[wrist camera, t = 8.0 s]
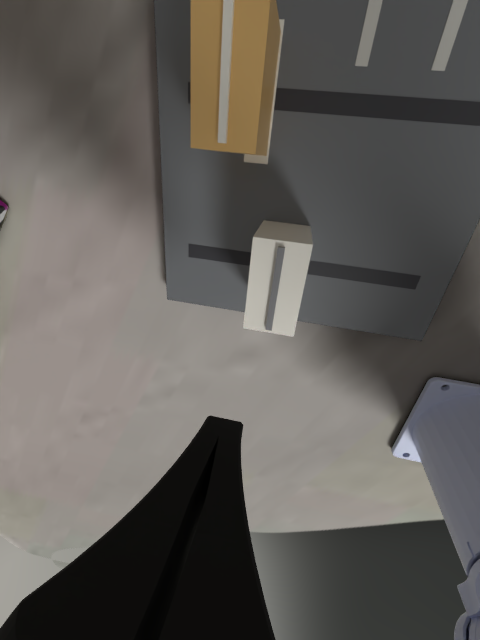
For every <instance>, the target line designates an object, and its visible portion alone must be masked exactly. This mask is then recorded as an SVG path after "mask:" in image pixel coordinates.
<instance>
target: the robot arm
mask: <svg viewBox="0 0 480 640" xmlns="http://www.w3.org/2000/svg"><path fill="white" fill-rule="evenodd" d="M443 385H446V386H444V387H442V386H443ZM242 430H243V424H242V423H241V422H238V421H233V420H228V419H224V418H219V417H214V416H209V417H207V419H206V420H205V422H204V424H203V425H202V427H201V428H200V430H199V431H198V433H197V434H196V436H195V437H194V439H193V440H192V441H191V443H190V444H189V445H188V447H187V448H186V449H185V451H184V452H183V453H182V454H181V456H180V457H179V458H178V460H177V461H176V462H175V463H174V464H173V466H172V467H171V468H170V469H169V470H168V471H167V473H166V474H165V475H164V476H163V477H162V478H161V480H160V481H159V482H158V483H157V484H156V485H155V486H154V487H153V488H152V489H151V491H150V492H149V493H148V494H147V495H146V496H145V497H144V498H143V499H142V500H141V501H140V502H139V503H138V504H137V505H136V506H135V507H134V508H133V509H132V510H131V511H130V512H129V513H128V514H127V515H125V516H124V517H123V518H122V519H121V520H120V521H119V522H118V523H117V524H116V525H115V526H114V527H113V528H111V529H110V530H109V531H108V532H107V533H106V534H105V535H104V536H102V537H101V538H100V539H99V540H98V541H97V542H95V543H94V544H93V545H92V546H91V547H89V548H88V549H87V550H86V551H85V552H83V553H82V554H81V555H80V556H79V557H78V558H76V559H75V560H74V561H73V562H71V563H70V564H69V565H68V566H66V567H65V568H64V569H62V570H61V571H60V572H59V573H57V574H56V575H55V576H53V577H52V578H51V579H49V580H48V581H47V582H45V583H44V584H43V585H41V586H40V587H39V588H37V589H36V590H35V591H34V592H32V593H31V594H29V595H28V596H27V597H25V598H24V599H23V600H22V601H21V602H20V603H19V605H18V606H17V607H16V608H15V610H14V611H13V612H12V614H11V615H10V616H9V617H8V619H7V620H6V622H5V623H4V624H3V626H2V627H1V628H0V640H275V637H274V633H273V630H272V626H271V622H270V619H269V615H268V611H267V607H266V604H265V600H264V595H263V591H262V587H261V583H260V579H259V574H258V570H257V566H256V562H255V557H254V552H253V547H252V543H251V537H250V532H249V526H248V520H247V514H246V507H245V500H244V492H243V483H242V469H241V437H242ZM392 454H393V455H394V456H395V457H398V458H403V459H408V460H413V461H417V462H422V465H423V467H424V470H425V472H426V475H427V477H428V480H429V482H430V485H431V487H432V490H433V492H434V495H435V497H436V500H437V502H438V505H439V507H440V510H441V512H442V515H443V517H444V520H445V522H446V525H447V527H448V530H449V532H450V535H451V537H452V540H453V542H454V545H455V547H456V550H457V552H458V555H459V557H460V560H461V562H462V565H463V567H464V570H465V572H466V575H467V577H468V579H467V580H466V581H465V582H464V583H461V584H459V585H458V586H457V587H458V590H459V593H460V595H461V598H462V601H463V604H464V606H465V609H466V612H465V613H464V614H463V615H461V616H460V618H459V619H458V621H457V624H456V627H455V634H454V640H480V385H479V384H473V383H468V382H462V381H457V380H451V379H445V378H440V377H434V378H431V379H429V380H428V381H427V383H426V385H425V387H424V389H423V391H422V393H421V394H420V396H419V398H418V400H417V402H416V404H415V406H414V408H413V409H412V411H411V413H410V415H409V417H408V419H407V421H406V423H405V424H404V426H403V428H402V430H401V432H400V434H399V436H398V438H397V440H396V441H395V443H394V445H393V447H392Z"/></svg>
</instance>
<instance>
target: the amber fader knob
mask: <svg viewBox="0 0 480 640" xmlns="http://www.w3.org/2000/svg"><path fill="white" fill-rule="evenodd" d="M280 35H281V28H280V22H279V15H278V9H277V3H276V0H191V148H195V149H203V150H211V151H220V152H230V153H240V154H251V155H261V156H267V149H268V140H269V131H270V123H271V114H272V105H273V96H274V88H275V79H276V70H277V61H278V52H279V44H280Z"/></svg>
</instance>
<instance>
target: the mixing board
mask: <svg viewBox="0 0 480 640" xmlns="http://www.w3.org/2000/svg"><path fill="white" fill-rule="evenodd" d="M276 3H277V9H278V15H279V22H280V28H281V35H280V44H279V52H278V61H277V70H276V79H275V88H274V96H273V105H272V114H271V123H270V131H269V140H268V149H267V156H261V155H251V154H240V153H230V152H220V151H211V150H203V149H195V148H191V0H154V11H155V34H156V57H157V80H158V103H159V126H160V149H161V172H162V195H163V217H164V240H165V263H166V286H167V299H168V300H174V301H180V302H186V303H192V304H198V305H205V306H211V307H217V308H223V309H229V310H235V311H241V312H245V307H246V298H247V288H248V279H249V269H250V260H251V251H252V241H253V236H254V234H255V233H256V231H257V230H258V228H259V227H260V225H261V224H262V222H263V221H264V220H266V221H274V222H282V223H290V224H298V225H306V226H311V233H312V241H313V247H312V252H311V257H310V262H309V266H308V271H307V276H306V281H305V285H304V290H303V295H302V300H301V304H300V309H299V314H298V319H297V321H302V322H308V323H315V324H321V325H327V326H333V327H339V328H345V329H351V330H357V331H363V332H369V333H376V334H382V335H388V336H394V337H400V338H406V339H412V340H418V341H422V339H423V337H424V335H425V333H426V331H427V329H428V327H429V325H430V322H431V320H432V318H433V316H434V314H435V312H436V310H437V308H438V306H439V304H440V301H441V299H442V297H443V295H444V293H445V291H446V289H447V287H448V285H449V282H450V280H451V278H452V276H453V274H454V272H455V270H456V268H457V266H458V264H459V261H460V259H461V257H462V255H463V253H464V251H465V249H466V247H467V245H468V243H469V240H470V238H471V236H472V234H473V232H474V230H475V228H476V226H477V224H478V222H479V219H480V0H276Z"/></svg>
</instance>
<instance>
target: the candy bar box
mask: <svg viewBox="0 0 480 640" xmlns="http://www.w3.org/2000/svg"><path fill="white" fill-rule="evenodd" d="M8 210H9V207H8V206H7V205H6V204H5V203H4V202H2V201H1V200H0V230H1V228H2V225H3V223H4V221H5V219H6V216H7V213H8Z"/></svg>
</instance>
